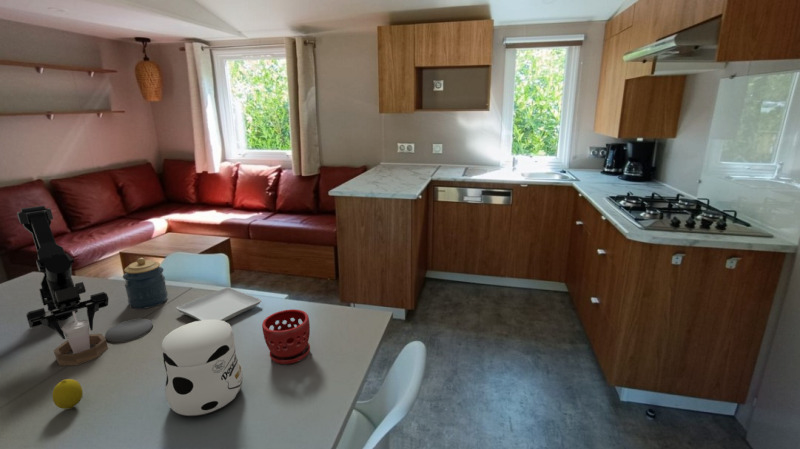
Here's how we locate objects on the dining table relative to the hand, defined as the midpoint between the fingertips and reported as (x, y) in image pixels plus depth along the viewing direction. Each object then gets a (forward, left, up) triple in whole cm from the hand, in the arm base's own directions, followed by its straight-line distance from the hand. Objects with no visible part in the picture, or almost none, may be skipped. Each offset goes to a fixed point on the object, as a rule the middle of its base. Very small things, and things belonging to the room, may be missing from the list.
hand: (78, 334), depth 117 cm
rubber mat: (-13, +6, -7) cm, 16 cm away
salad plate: (-25, +31, -8) cm, 41 cm away
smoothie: (-1, -1, -7) cm, 7 cm away
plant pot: (+5, +61, -7) cm, 62 cm away
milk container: (+22, +44, -7) cm, 50 cm away
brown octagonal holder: (-1, -1, -7) cm, 7 cm away
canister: (-35, +1, -7) cm, 36 cm away
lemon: (+23, +12, -7) cm, 27 cm away
